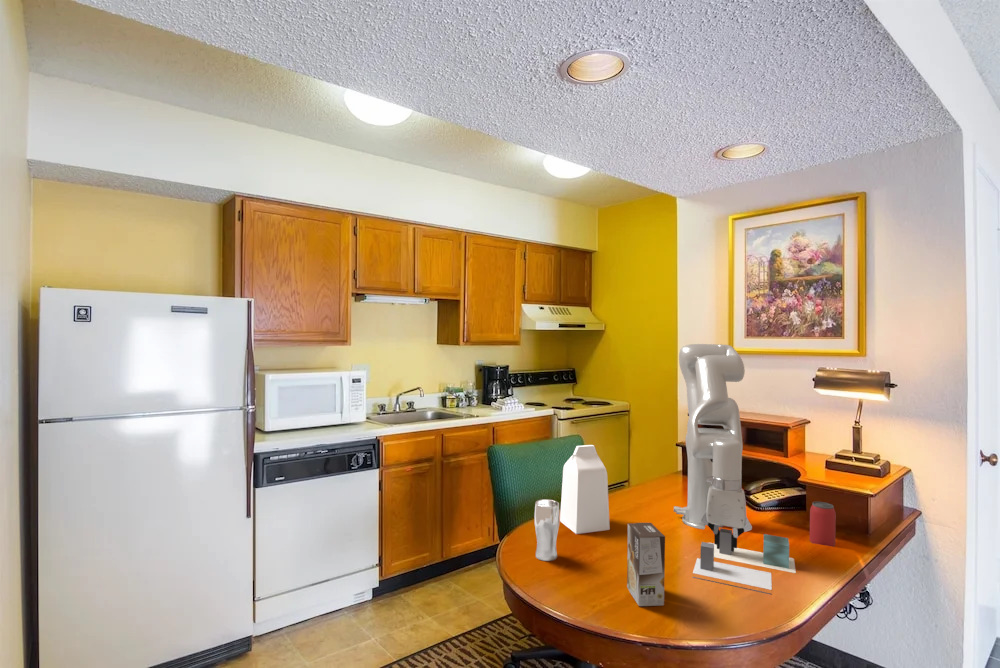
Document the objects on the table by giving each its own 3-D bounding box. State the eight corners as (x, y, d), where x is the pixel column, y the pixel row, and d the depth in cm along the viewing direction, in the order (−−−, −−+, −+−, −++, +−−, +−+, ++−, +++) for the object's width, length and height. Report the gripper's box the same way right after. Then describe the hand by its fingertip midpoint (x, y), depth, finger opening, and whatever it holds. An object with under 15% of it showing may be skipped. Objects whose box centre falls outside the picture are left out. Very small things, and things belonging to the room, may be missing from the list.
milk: (576, 534, 161) (577, 450, 161) (559, 521, 172) (561, 443, 172) (609, 529, 165) (610, 448, 165) (591, 517, 176) (592, 441, 176)
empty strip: (692, 577, 133) (693, 549, 133) (697, 562, 142) (697, 536, 142) (771, 594, 124) (772, 565, 124) (771, 577, 133) (771, 549, 133)
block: (763, 563, 139) (763, 541, 139) (763, 555, 144) (763, 533, 144) (788, 568, 136) (789, 546, 136) (787, 560, 141) (788, 538, 141)
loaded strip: (704, 559, 144) (705, 533, 144) (708, 546, 152) (708, 522, 152) (795, 577, 133) (796, 550, 133) (793, 562, 142) (794, 536, 142)
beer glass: (561, 553, 147) (562, 500, 147) (555, 563, 140) (556, 508, 140) (537, 549, 149) (538, 497, 149) (530, 559, 143) (531, 505, 143)
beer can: (839, 549, 152) (839, 509, 152) (814, 547, 154) (815, 507, 154) (829, 540, 159) (830, 501, 159) (806, 538, 160) (806, 500, 160)
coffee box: (665, 606, 119) (666, 536, 119) (638, 607, 119) (639, 537, 119) (650, 586, 128) (651, 522, 128) (625, 587, 128) (626, 522, 128)
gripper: (694, 482, 146) (693, 547, 146) (759, 491, 139) (757, 560, 139) (697, 476, 153) (696, 538, 153) (759, 484, 145) (758, 549, 145)
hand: (725, 548), depth 146 cm, fingers closed on loaded strip, 3 cm apart
